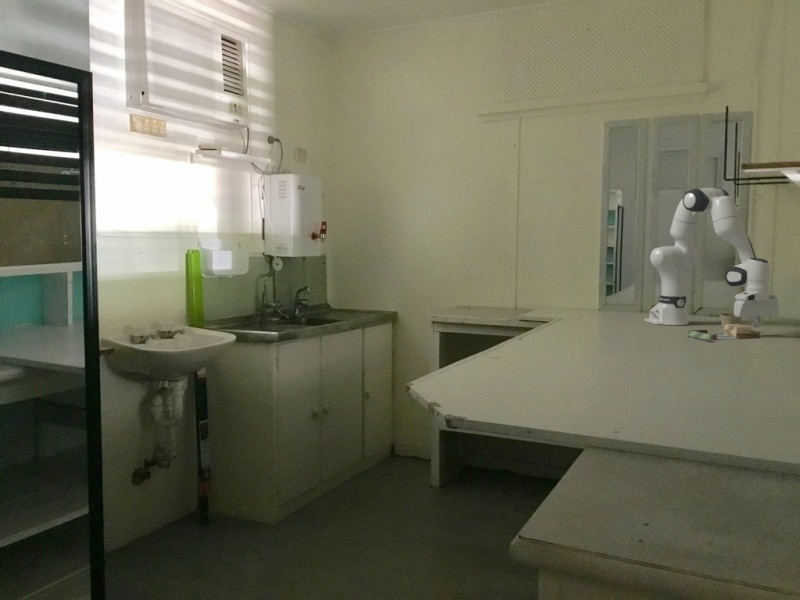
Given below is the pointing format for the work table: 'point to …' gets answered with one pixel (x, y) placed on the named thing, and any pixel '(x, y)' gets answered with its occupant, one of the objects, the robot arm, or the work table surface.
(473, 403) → the work table surface
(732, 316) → the flower pot
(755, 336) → the channel
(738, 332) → the beech block
